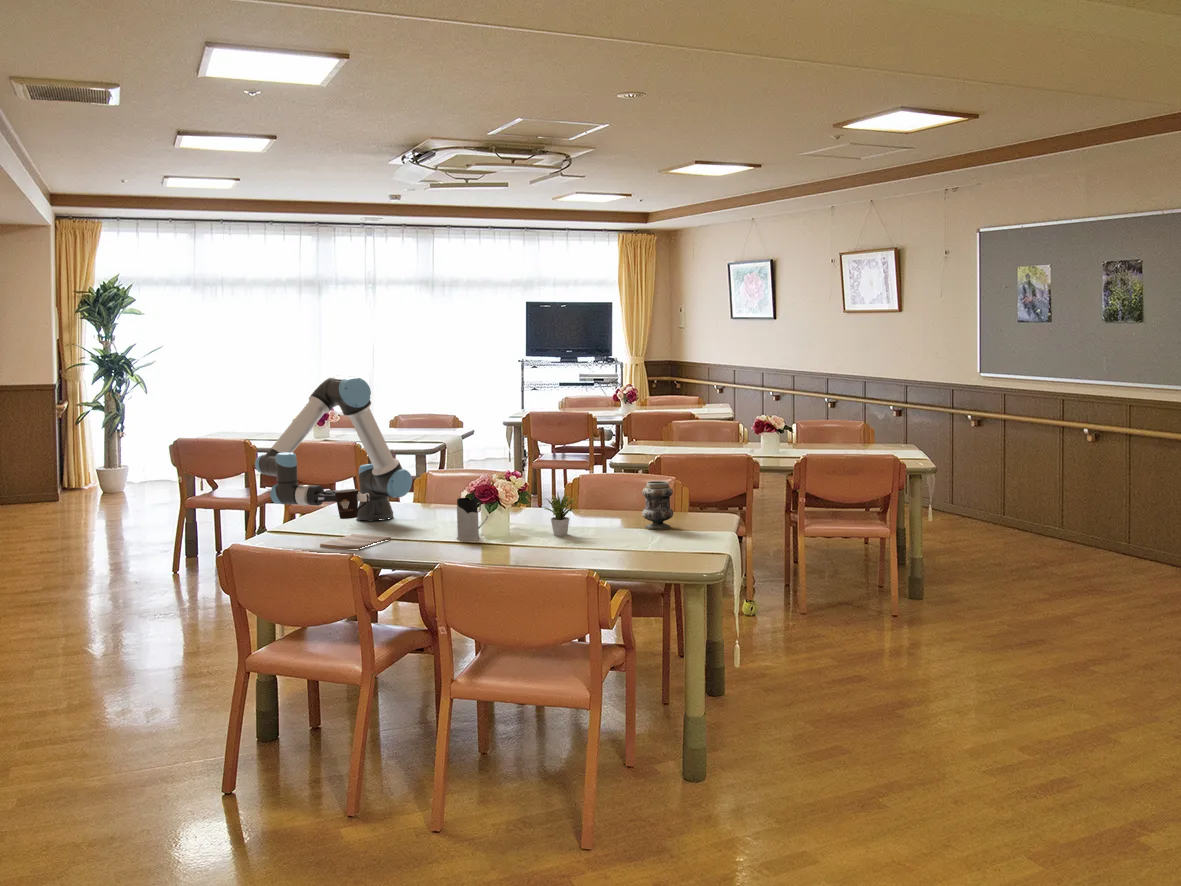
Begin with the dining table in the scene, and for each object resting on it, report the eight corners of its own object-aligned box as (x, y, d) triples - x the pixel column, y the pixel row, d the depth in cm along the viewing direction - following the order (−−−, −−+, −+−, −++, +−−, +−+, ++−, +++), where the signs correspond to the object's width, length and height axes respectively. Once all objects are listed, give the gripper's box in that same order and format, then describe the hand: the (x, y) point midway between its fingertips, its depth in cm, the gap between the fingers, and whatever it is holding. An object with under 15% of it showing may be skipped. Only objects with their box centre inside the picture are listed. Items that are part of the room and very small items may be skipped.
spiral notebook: (353, 536, 423) (353, 533, 423) (390, 539, 416) (390, 536, 416) (320, 547, 405) (320, 543, 405) (358, 550, 398) (358, 547, 398)
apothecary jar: (673, 524, 435) (673, 479, 433) (673, 530, 424) (672, 484, 421) (643, 524, 437) (642, 479, 435) (641, 530, 425) (640, 484, 423)
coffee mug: (331, 519, 406) (329, 492, 405) (347, 515, 414) (345, 489, 413) (356, 519, 401) (354, 492, 400) (372, 515, 408) (369, 489, 407)
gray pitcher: (452, 538, 417) (451, 498, 415) (484, 533, 425) (483, 494, 424) (464, 541, 410) (462, 501, 408) (496, 536, 418) (495, 497, 417)
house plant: (575, 539, 411) (574, 496, 409) (538, 538, 413) (537, 495, 412) (582, 531, 425) (582, 489, 423) (547, 531, 427) (546, 489, 425)
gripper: (321, 502, 421) (377, 504, 414) (300, 508, 407) (358, 510, 400) (320, 482, 420) (376, 484, 413) (299, 488, 406) (357, 490, 399)
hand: (367, 497), depth 407 cm, fingers closed on coffee mug
